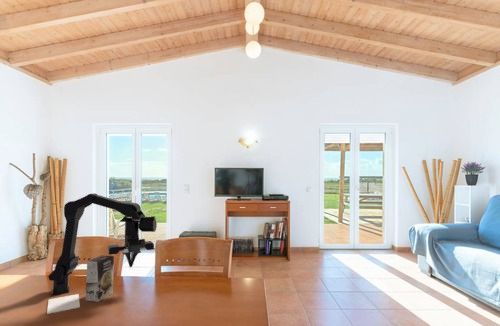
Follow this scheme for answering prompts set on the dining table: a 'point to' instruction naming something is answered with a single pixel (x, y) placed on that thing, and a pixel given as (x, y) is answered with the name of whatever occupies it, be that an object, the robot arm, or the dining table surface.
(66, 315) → the dining table surface
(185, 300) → the dining table surface
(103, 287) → the coffee box
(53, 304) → the mat
